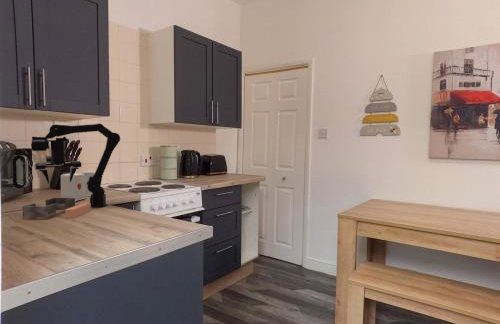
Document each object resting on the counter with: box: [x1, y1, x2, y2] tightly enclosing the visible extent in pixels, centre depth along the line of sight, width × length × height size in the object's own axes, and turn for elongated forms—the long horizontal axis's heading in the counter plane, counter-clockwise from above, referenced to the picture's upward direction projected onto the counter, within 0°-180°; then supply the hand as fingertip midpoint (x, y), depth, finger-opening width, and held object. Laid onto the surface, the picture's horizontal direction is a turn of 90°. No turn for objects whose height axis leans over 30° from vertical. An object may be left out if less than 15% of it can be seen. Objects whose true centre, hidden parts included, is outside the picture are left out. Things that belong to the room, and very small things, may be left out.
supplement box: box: [60, 172, 86, 200], centre depth 172 cm, size 9×9×15 cm
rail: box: [64, 202, 92, 219], centre depth 142 cm, size 14×4×4 cm, turn 178°
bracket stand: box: [21, 197, 76, 221], centre depth 142 cm, size 10×20×6 cm, turn 178°
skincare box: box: [81, 170, 96, 196], centre depth 187 cm, size 8×6×15 cm
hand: (59, 182), depth 151 cm, fingers open, 9 cm apart
